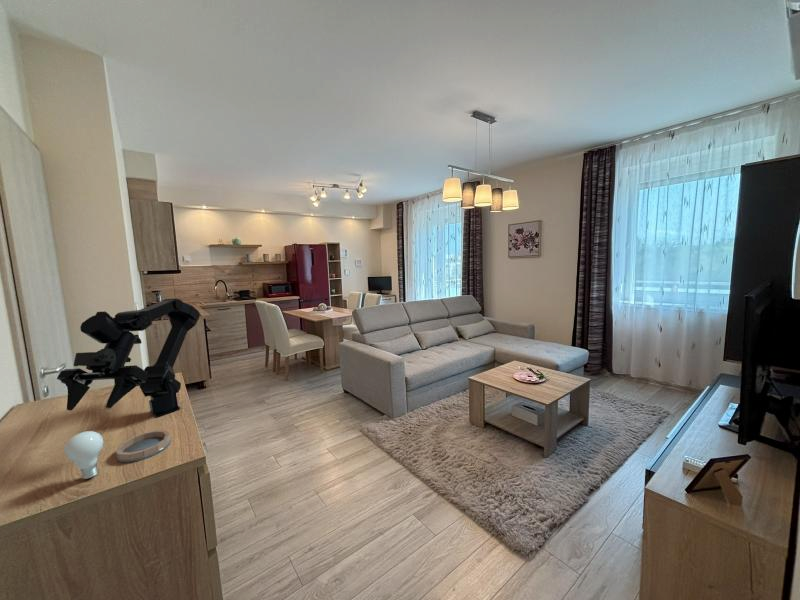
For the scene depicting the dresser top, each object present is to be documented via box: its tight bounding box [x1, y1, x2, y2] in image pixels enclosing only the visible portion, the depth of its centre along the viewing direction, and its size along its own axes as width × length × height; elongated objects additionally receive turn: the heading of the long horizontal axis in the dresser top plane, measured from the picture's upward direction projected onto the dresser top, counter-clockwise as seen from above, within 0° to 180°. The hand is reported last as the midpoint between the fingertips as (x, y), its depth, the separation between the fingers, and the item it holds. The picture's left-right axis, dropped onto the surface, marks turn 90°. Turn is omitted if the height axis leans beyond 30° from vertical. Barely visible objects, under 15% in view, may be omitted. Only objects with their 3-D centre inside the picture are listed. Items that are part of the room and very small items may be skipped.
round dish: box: [115, 429, 172, 464], centre depth 84 cm, size 11×11×2 cm
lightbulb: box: [63, 430, 104, 480], centre depth 73 cm, size 6×6×11 cm
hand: (88, 409), depth 79 cm, fingers open, 9 cm apart
